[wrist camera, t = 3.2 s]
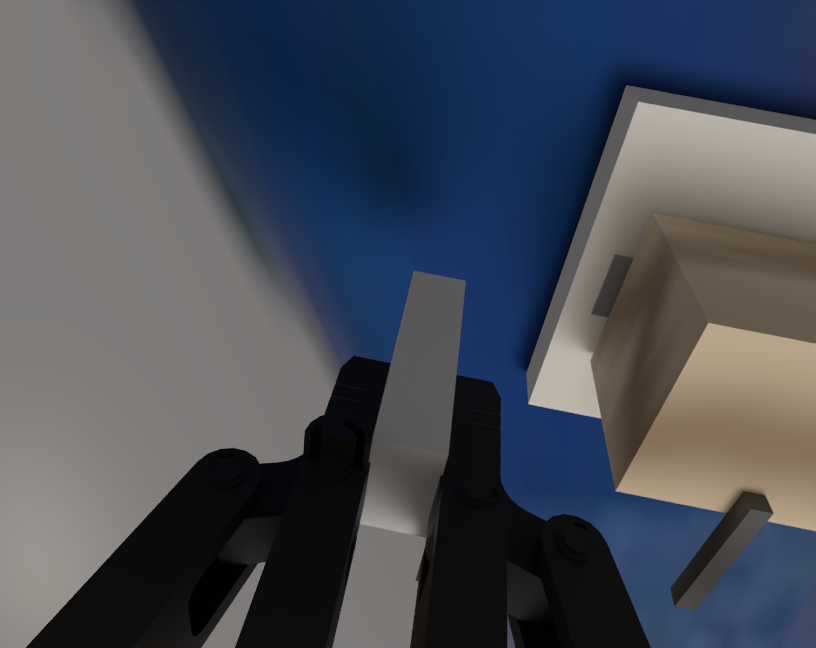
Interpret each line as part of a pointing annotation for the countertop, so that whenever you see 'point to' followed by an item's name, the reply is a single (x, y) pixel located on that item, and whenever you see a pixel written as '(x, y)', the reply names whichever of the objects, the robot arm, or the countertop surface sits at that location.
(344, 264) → the countertop surface
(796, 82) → the countertop surface
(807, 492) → the gauge carriage
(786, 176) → the bench
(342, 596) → the robot arm
